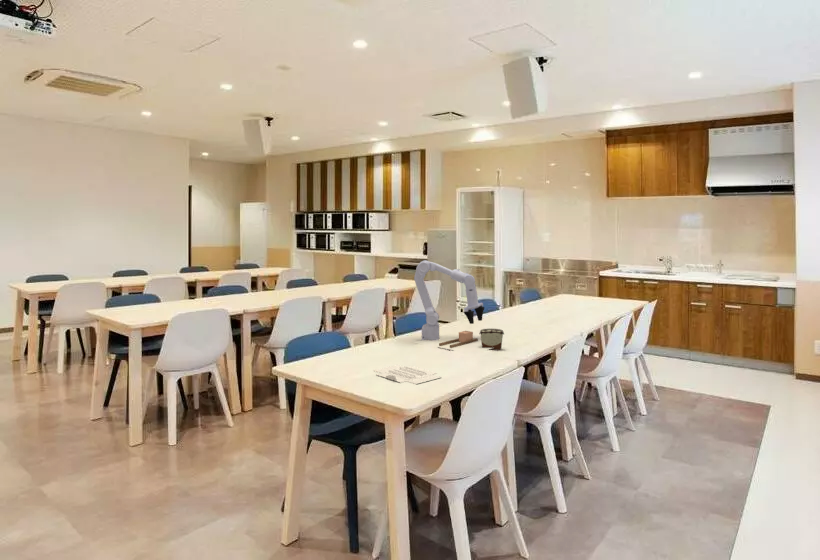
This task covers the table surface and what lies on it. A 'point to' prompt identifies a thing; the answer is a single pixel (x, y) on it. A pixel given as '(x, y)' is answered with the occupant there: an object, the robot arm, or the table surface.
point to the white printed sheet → (407, 374)
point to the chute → (456, 343)
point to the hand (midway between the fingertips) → (476, 322)
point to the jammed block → (465, 336)
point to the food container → (491, 338)
